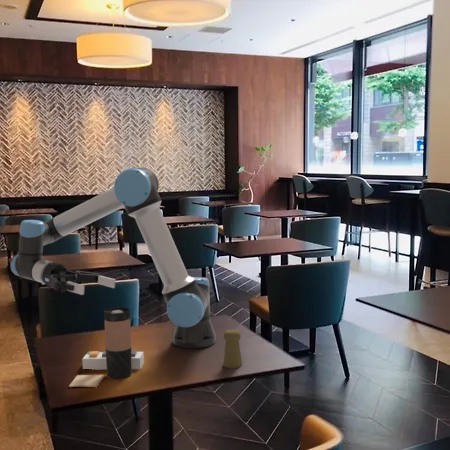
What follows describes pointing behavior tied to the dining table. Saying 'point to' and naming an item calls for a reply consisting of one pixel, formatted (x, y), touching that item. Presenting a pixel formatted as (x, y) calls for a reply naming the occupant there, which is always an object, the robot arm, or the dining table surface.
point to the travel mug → (118, 342)
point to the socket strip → (99, 360)
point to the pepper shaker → (232, 349)
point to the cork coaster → (86, 381)
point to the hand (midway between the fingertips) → (99, 286)
